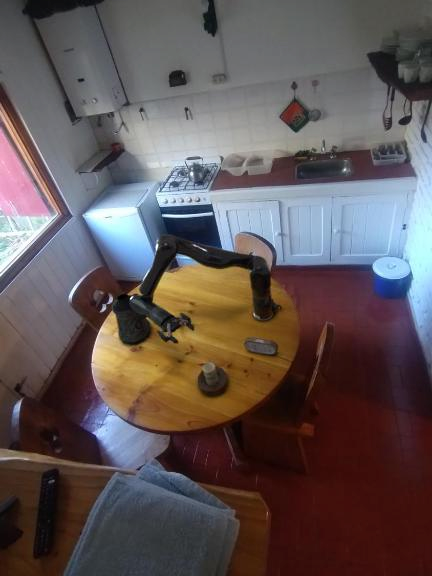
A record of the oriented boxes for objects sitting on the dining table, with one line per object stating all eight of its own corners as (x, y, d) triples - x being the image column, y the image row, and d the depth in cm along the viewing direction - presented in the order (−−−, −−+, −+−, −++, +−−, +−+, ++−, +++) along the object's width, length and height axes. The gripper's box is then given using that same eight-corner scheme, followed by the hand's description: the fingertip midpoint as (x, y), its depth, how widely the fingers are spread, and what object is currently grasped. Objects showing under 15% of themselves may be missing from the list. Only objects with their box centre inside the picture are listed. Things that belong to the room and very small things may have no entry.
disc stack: (214, 372, 148) (211, 359, 142) (220, 381, 144) (217, 368, 138) (204, 378, 146) (200, 365, 141) (209, 387, 142) (206, 374, 137)
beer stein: (114, 337, 177) (95, 302, 162) (142, 313, 188) (127, 278, 172) (134, 351, 168) (117, 315, 152) (162, 325, 178) (149, 289, 163)
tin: (278, 351, 154) (278, 339, 149) (277, 357, 152) (276, 345, 146) (246, 346, 159) (244, 334, 154) (244, 351, 157) (242, 339, 152)
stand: (218, 367, 153) (217, 361, 150) (233, 386, 144) (231, 381, 141) (195, 380, 149) (193, 375, 147) (208, 401, 140) (206, 396, 138)
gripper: (146, 321, 144) (169, 340, 134) (172, 302, 151) (196, 318, 140) (151, 333, 148) (174, 352, 138) (176, 314, 155) (200, 330, 145)
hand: (185, 335), depth 139 cm, fingers open, 8 cm apart
